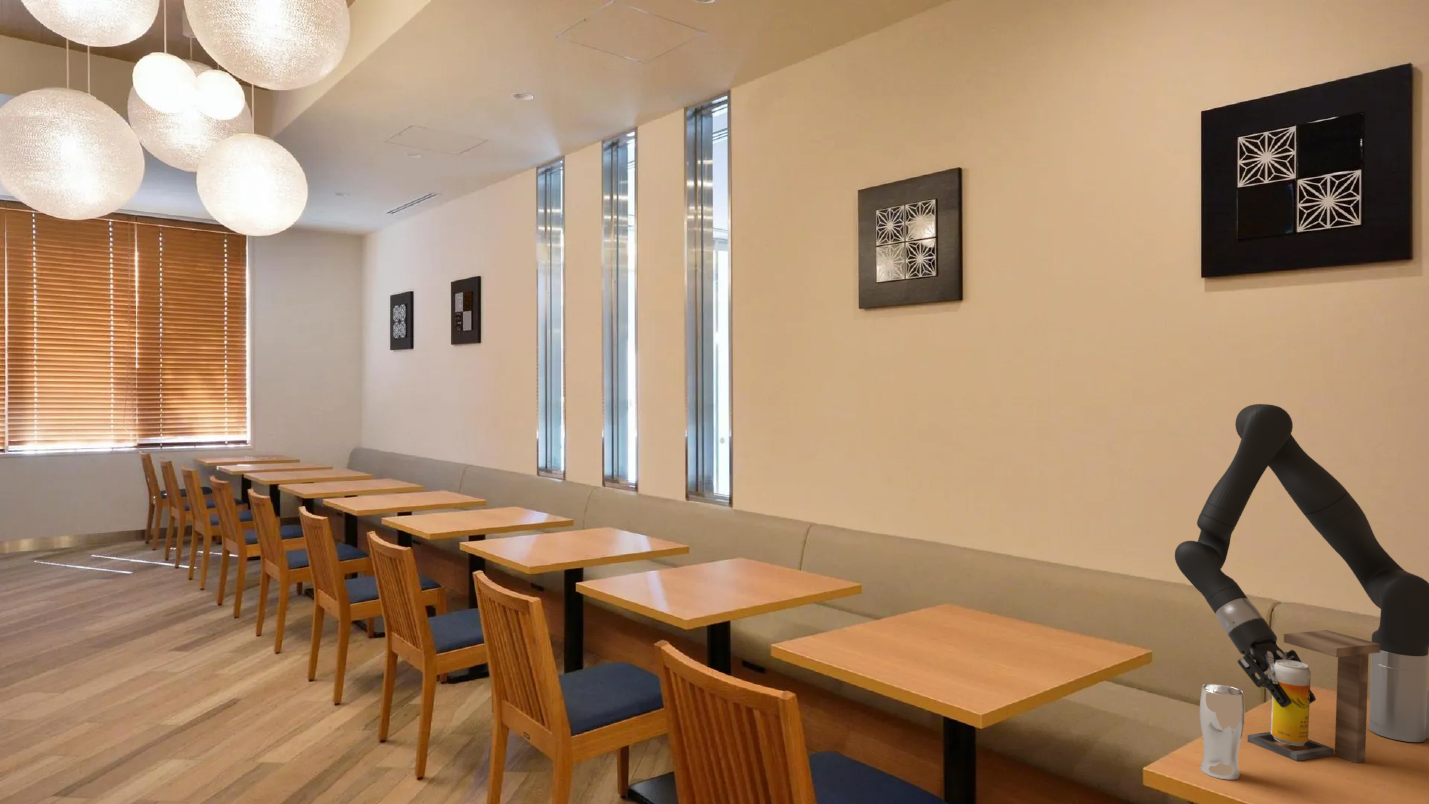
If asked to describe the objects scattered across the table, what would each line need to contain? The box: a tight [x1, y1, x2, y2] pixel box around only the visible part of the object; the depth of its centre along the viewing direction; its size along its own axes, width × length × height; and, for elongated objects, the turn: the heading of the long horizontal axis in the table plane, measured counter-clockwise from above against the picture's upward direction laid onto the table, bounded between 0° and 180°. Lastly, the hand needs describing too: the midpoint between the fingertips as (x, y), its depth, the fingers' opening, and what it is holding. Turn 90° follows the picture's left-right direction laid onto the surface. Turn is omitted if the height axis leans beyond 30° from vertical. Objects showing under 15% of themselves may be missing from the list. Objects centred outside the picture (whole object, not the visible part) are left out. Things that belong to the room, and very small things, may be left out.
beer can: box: [1270, 660, 1312, 747], centre depth 171 cm, size 6×6×15 cm
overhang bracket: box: [1247, 629, 1380, 764], centre depth 169 cm, size 13×16×23 cm
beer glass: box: [1199, 683, 1246, 781], centre depth 158 cm, size 7×7×15 cm
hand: (1299, 703), depth 170 cm, fingers closed on beer can, 6 cm apart
